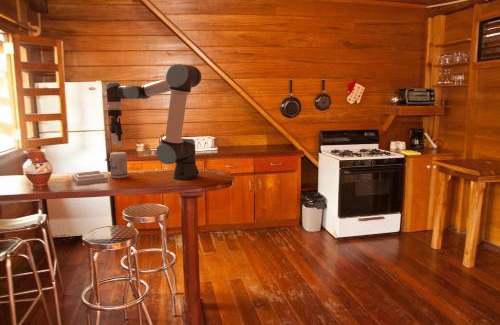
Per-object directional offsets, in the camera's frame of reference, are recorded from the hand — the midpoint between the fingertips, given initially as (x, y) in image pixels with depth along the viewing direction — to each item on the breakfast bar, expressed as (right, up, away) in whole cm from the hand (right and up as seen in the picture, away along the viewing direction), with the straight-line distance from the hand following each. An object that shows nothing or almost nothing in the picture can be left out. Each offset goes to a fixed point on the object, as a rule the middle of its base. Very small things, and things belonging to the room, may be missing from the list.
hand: (117, 145), depth 233 cm
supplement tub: (+1, -19, +3) cm, 20 cm away
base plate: (-14, -21, -6) cm, 26 cm away
